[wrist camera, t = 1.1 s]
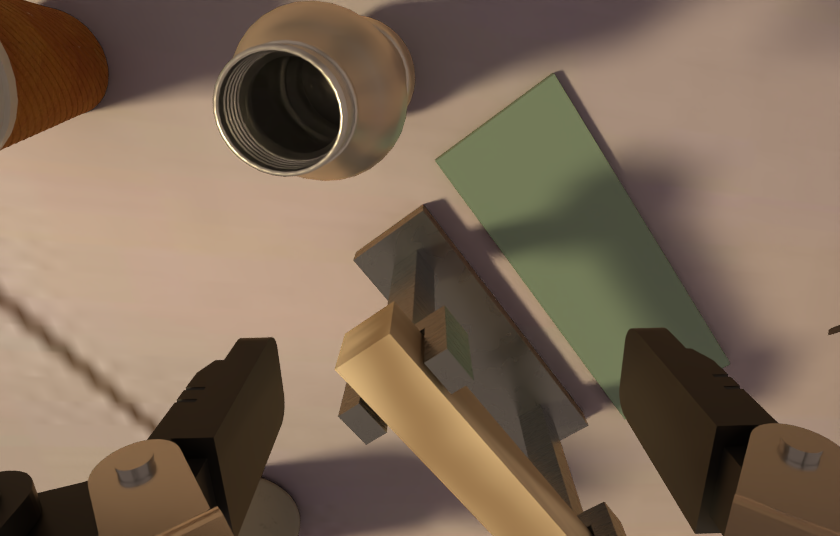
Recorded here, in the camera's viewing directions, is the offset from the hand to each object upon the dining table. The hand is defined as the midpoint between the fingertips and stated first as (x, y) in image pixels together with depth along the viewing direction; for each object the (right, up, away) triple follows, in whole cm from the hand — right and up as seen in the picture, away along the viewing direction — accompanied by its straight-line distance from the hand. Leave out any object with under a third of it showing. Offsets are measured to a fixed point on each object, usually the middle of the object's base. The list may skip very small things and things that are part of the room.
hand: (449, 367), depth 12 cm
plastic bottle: (-4, +15, +21) cm, 26 cm away
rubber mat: (+12, +2, +26) cm, 28 cm away
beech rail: (+4, -8, +16) cm, 18 cm away
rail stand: (+4, -3, +28) cm, 29 cm away
